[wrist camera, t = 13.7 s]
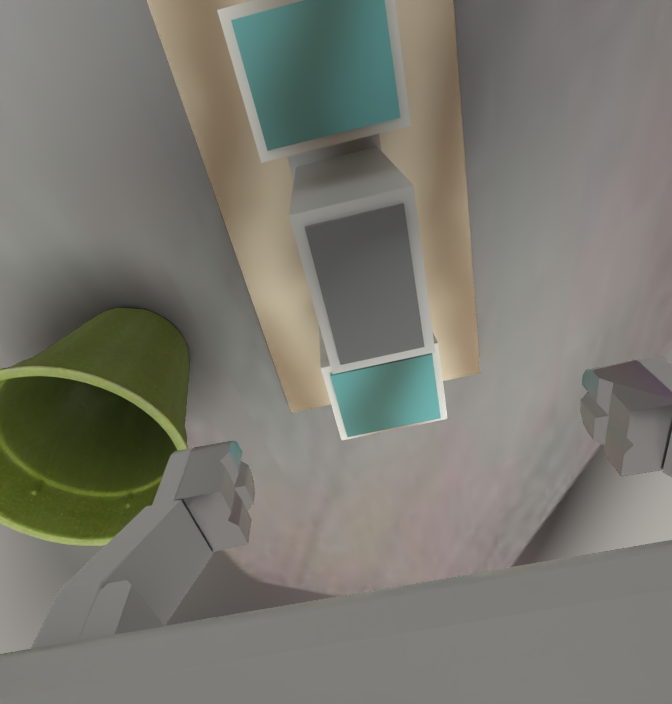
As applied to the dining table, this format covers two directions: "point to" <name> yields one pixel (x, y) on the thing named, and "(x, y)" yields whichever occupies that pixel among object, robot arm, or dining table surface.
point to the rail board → (324, 143)
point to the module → (362, 259)
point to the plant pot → (92, 427)
